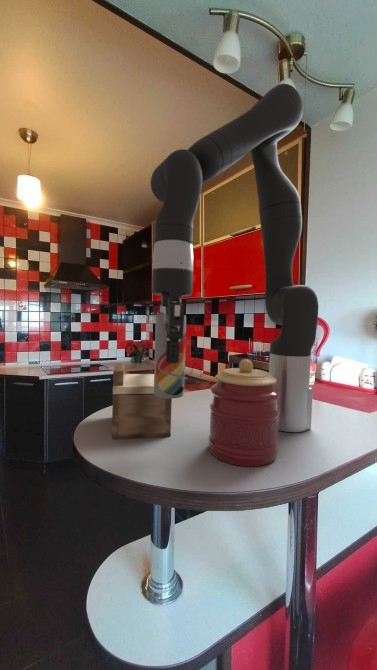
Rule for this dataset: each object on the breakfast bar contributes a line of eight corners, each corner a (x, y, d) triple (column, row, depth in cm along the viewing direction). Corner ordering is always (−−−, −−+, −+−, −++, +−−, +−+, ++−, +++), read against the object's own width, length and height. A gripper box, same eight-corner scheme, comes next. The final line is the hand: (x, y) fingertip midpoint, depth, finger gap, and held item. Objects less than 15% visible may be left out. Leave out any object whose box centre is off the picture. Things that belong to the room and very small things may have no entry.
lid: (163, 379, 77) (164, 362, 76) (171, 393, 63) (172, 371, 63) (115, 380, 74) (115, 362, 74) (112, 394, 61) (113, 372, 60)
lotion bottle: (179, 400, 53) (183, 286, 52) (149, 397, 54) (152, 286, 54) (186, 393, 59) (190, 290, 58) (159, 390, 60) (161, 290, 59)
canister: (283, 472, 50) (288, 366, 49) (204, 463, 52) (208, 362, 51) (273, 441, 63) (277, 356, 62) (211, 435, 65) (214, 353, 64)
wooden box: (162, 415, 77) (163, 380, 77) (170, 436, 63) (171, 394, 63) (114, 416, 75) (115, 381, 74) (111, 439, 61) (112, 395, 61)
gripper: (201, 264, 49) (198, 366, 50) (185, 276, 63) (182, 356, 64) (156, 260, 48) (153, 366, 49) (149, 273, 62) (147, 356, 63)
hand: (170, 360), depth 56 cm, fingers closed on lotion bottle, 5 cm apart
